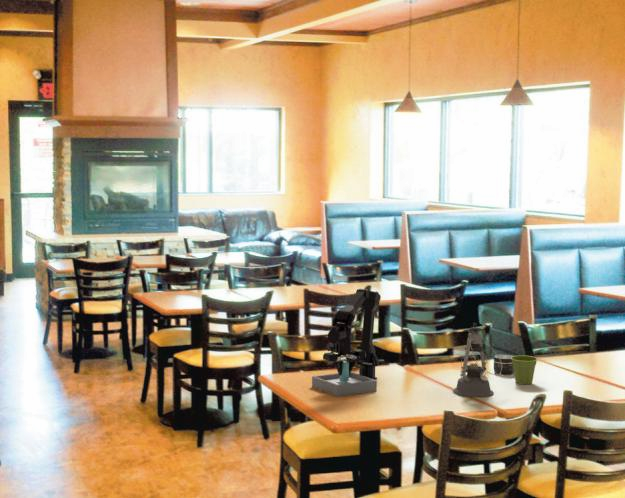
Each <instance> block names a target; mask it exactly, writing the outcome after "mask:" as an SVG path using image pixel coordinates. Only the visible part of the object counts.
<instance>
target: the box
mask: <svg viewBox="0 0 625 498" xmlns="http://www.w3.org/2000/svg"><path fill="white" fill-rule="evenodd" d="M377 381H378V380H377V379H371V378H368V377H365V376H362V375H359V373H356V372H353V371H351V372H350V374H349V381H347V382H342V381H340V376H339V374H338V372H335V373H329V374H321V375H320V374H319V375H313V376H311V387H312V388H314V389H317V390H320V391H322V392H324V393H327V394H330V395H333V396H335V397H343V396H349V395H357V394H358V395H359V394H364V393H371V392H377V390H378V389H377V385H378V384H377Z"/></svg>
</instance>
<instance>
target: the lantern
mask: <svg viewBox="0 0 625 498" xmlns="http://www.w3.org/2000/svg"><path fill="white" fill-rule="evenodd" d="M474 325H475V326H474ZM476 325H477V323H476V322H475V323H473V327H470V328H468V331H470V332H468V337H467V339H466V346H465V348H464V350H465V354H464V356H463V355H462V356H461V358H463V359H461V361H460V362H461V363H460V365H461V367H460V368H461V369H460V378H458V379H457V382H456V387H455V388H454V389H452V393H453V394H455V395H456V396H457V395H458V396H460V397H466V398H487V397H491V396H493V395H494V393H495V392H494V391H493V389H491V385H490V381H489V378H488V377H487V376H486V375H487V374H490V375H493V376H498V377H499V376H500V375H502V374H501V372H500V374H494V373H491V372H489V371H487V367H486V366H487V364H488V358H487V356H486V355H485V354H484V350H485V349H484V346H483V345H484V344H485V345H487V346H488V347H489V348H490V349H492V350H493V352H494V353H495V354H496V355H497V356H498V355H499V354H497V353H496V351H495V350H494V349H493V347H492V346H491V345H489V344H488V343H486V341H485V339H484V335H482V333H480V331H481V328H479V327H477V326H476ZM483 342H484V344H483ZM470 352H472V353H470ZM474 352H475V353H474ZM477 353H478V354H479V355H480V359H479V358H477V357H475V354H477ZM472 355H473V356H472ZM470 356H472V357H473V358H474V361H475V363H473V362H469V358H470ZM485 358H486V359H485ZM498 358H499V357H498ZM476 359H477V360H479V361H480V362H481V365H480V364H479V363H478V362H477V360H476ZM499 359H500V358H499ZM462 360H463V362H462ZM500 361H501V360H500ZM462 363H463V364H462ZM468 363H469V365H468ZM501 365H502V362H501ZM501 369H502V368H501Z"/></svg>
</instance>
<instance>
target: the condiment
mask: <svg viewBox="0 0 625 498" xmlns="http://www.w3.org/2000/svg"><path fill="white" fill-rule="evenodd" d="M351 342H353V345H351V351H352V350H355V349H357V347H358V346H359V345H360V344H361V343H362V340H358V339H356V340H355V339H354V340H353V339H352V340H351ZM355 368H360V365H357V361H356V363H355V365H354V366H353V368H352V369H355Z"/></svg>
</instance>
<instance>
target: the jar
mask: <svg viewBox="0 0 625 498" xmlns="http://www.w3.org/2000/svg"><path fill="white" fill-rule="evenodd" d="M497 355H498V356H497ZM513 356H514V355H511V354H510V355H509V354H495V355H494V356H493V371H494V373H495V374H496V375H499V374H500V372H501V374H500V375H504V376H508V375H509V376H510V375H514V367H513V363H512V359H511V357H513ZM498 357H499V358H500V359H499V358H498ZM500 360H501V361H500ZM501 362H502V365H501ZM501 368H502V369H501Z"/></svg>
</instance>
